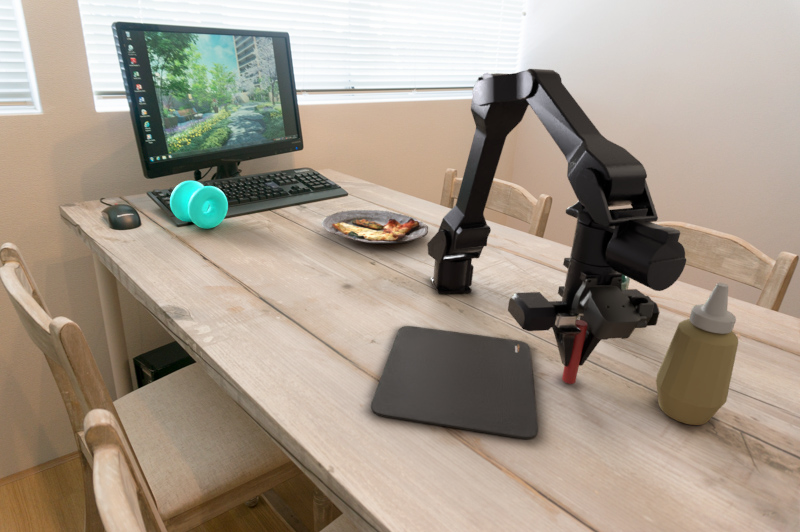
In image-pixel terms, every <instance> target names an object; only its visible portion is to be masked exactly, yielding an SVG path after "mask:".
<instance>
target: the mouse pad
mask: <svg viewBox="0 0 800 532" xmlns="http://www.w3.org/2000/svg"><path fill="white" fill-rule="evenodd" d="M390 349H391V350H390V352H389V355H388V357H387V360H386V363H385V366H384V367H383V370H382V372H381V373H382V374H381V377H380V379H379V382H378V384H377V387H376V389H375V392H374V394H373V398H372V400H371V404H370V408H371V409H370V410H371V411H372V413H373V414H375V415H377V416H380V417H385V418H390V419H398V420H404V421H410V422H414V423H415V422H416V423H423V424H429V425H433V426H434V425H435V426H441V427H446V428H452V429H459V430H465V431H470V432H471V431H472V432H478V433H484V434H489V435H490V434H491V435H495V436H497V435H498V436H502V437H510V438H516V439H521V440H531V439H534V438H535V437H537V435H538V430H539V426H538V425H539V424H538V416H537V415H538V414H537V405H536V396H535V384H534V376H533V365H532V355H531V348H530V345H529V344H528V343H526V342H524V341H521V340H517V339H510V338H503V337H495V336H488V335H481V334H480V335H479V334H473V333H467V332H466V333H465V332H459V331H458V332H457V331H450V330H445V329H444V330H442V329H435V328H429V327H427V328H426V327H420V326H413V325H404V326H401V327H400V328H399V329H398V331H397V334H396V336H395V339H394V341H393V344H392V347H391V348H390Z"/></svg>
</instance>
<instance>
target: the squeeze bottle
mask: <svg viewBox="0 0 800 532" xmlns="http://www.w3.org/2000/svg"><path fill="white" fill-rule="evenodd" d="M728 301H729V285H728V284H727V283H724V282H717V283H716V285H715V286H714V288H713V289H712V291H711V293H710V294H709V296H708V298H707V299H706V300H705V302H704V304H696V305H693V306H692V308H691V312H690V314H689V318H687V319H684V320H682V321H680V322H678V325H677V327H676V329H675V332H674V334H673V336H672V338H671V341H670V343H669V346H668V348H667V351H666V352H665V356H664V358H663V360H662V363H661V365H660V367H659V369H658V371H657V375H656V379H655V384H656V392H657V401H658V406H659V408H660V410H661V411H662V412H663V413H664V414H665V415H666V416H668V417H669V418H671V419H673V420H675V421H677V422H679V423H683V424H686V425H690V426H691V425H693V426H700V425H705V424H706V423H707V422H709V421H710V420H711V418H712V417H714V416H715V415H716V413H717V412H718V411H719V410H720V409H721V408H722V407H723V406H724V405H725V404H726V403H727V400H728V394H729V390H730V385H731V384H730V383H731V380H732V376H733V370H734V365H735V361H736V357H737V352H738V350H737V349H738V346H739V337H738V336H737V334H736V333H734V331H733V330H734V327H735V324H736V321H737V317H736V316H735V315H734V313H732V312H730V311H729V310H728V304H729V302H728Z"/></svg>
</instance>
